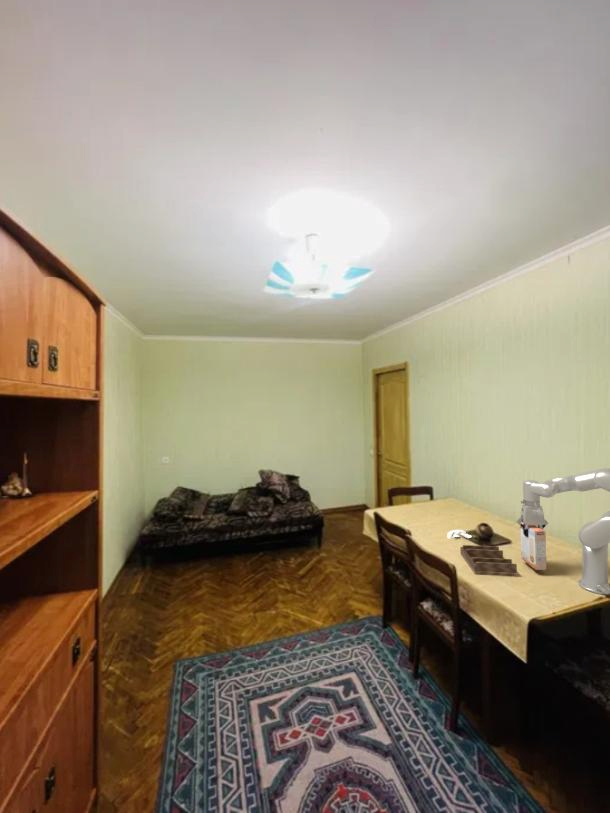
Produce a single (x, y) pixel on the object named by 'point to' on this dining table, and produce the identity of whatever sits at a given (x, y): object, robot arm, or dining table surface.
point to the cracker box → (534, 547)
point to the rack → (488, 561)
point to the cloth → (454, 532)
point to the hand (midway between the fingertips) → (532, 535)
